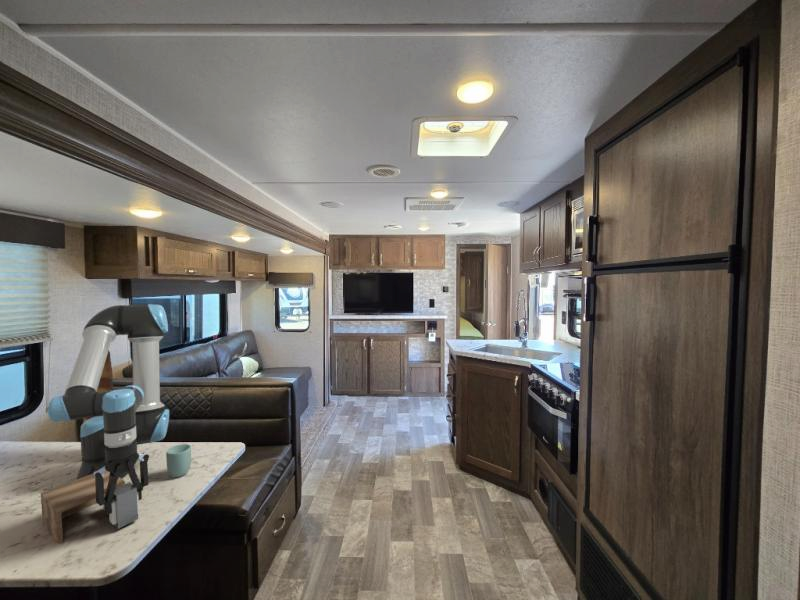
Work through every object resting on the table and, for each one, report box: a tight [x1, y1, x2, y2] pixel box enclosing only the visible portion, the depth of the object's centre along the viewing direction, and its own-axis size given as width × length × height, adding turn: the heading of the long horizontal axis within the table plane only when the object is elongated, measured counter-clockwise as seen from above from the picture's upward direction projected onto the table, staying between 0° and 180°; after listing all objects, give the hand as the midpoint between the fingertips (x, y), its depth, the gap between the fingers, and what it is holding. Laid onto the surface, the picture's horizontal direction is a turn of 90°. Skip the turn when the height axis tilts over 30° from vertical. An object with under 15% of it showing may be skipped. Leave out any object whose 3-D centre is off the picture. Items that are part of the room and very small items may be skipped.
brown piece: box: [40, 470, 126, 544], centre depth 108 cm, size 14×16×10 cm
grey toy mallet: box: [102, 481, 139, 530], centre depth 108 cm, size 15×5×10 cm, turn 58°
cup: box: [165, 443, 192, 478], centre depth 132 cm, size 8×8×10 cm
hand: (124, 516), depth 105 cm, fingers closed on grey toy mallet, 5 cm apart
